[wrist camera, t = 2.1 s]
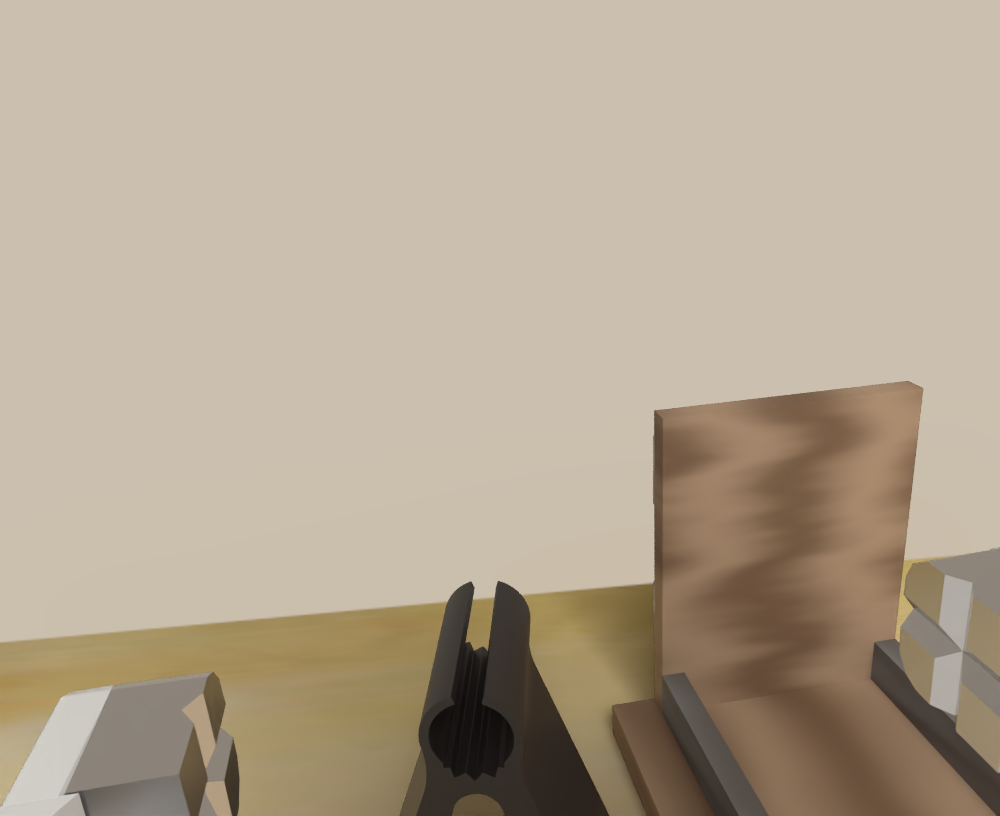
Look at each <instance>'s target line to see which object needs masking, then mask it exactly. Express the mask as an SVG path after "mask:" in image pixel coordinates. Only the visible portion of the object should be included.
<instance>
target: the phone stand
mask: <svg viewBox="0 0 1000 816" xmlns="http://www.w3.org/2000/svg"><path fill="white" fill-rule="evenodd" d="M473 594H474V586H473V584H472V582H469V583H466V584H464V585H463V586H461V587H459V588H458V589H457V590H456V591H455V592H454V593H453V594H452V596H451V597H450V599H449V600H448V603H447V606H446V610H445V614H444V619H443V623H442V628H441V632H440V637H439V641H438V646H437V650H436V655H435V659H434V664H433V668H432V673H431V677H430V682H429V686H428V691H427V695H426V700H425V704H424V709H423V713H422V718H421V722H420V727H419V743H420V746H421V751H420V754H419V757H418V760H417V763H416V767H415V770H414V773H413V776H412V779H411V782H410V785H409V788H408V791H407V794H406V797H405V800H404V803H403V807H402V810H401V813H400V816H452V812H453V808H454V805H455V804H456V802H457V801H458V800H459V799H460V798H462V797H464V796H466V795H470V794H483V795H487V796H489V797H491V798H493V799H495V800H496V801H497V802H498V803H499V804H500V805H501V807H502V809H503V812H504V814H505V816H609V814H608V812H607V810H606V808H605V806H604V804H603V802H602V800H601V798H600V796H599V794H598V792H597V790H596V788H595V786H594V784H593V781H592V779H591V777H590V775H589V773H588V771H587V769H586V767H585V765H584V763H583V761H582V759H581V757H580V755H579V753H578V751H577V749H576V747H575V745H574V743H573V741H572V739H571V737H570V735H569V733H568V731H567V729H566V727H565V725H564V723H563V720H562V718H561V716H560V714H559V712H558V710H557V708H556V706H555V704H554V702H553V700H552V698H551V696H550V694H549V692H548V690H547V688H546V686H545V684H544V682H543V680H542V678H541V676H540V674H539V672H538V670H537V668H536V666H535V663H534V661H533V659H532V656H531V652H530V647H529V635H530V611H529V608H528V605H527V603H526V601H525V599H524V598H523V597H522V595H521V594H520V593H519V592H518V591H517V590H515V589H514V588H513V587H511V586H509V585H508V584H505V583H503V582H500V581H498V583H497V586H496V593H495V600H494V608H493V616H492V624H491V632H490V640H489V648H488V651H487V650H486V649H485V648H484V647H481V648H479V649H477V650H475V651H474V650H473V648H472V645H471V643H470V642H467V643H465V641H466V635H467V629H468V624H469V618H470V612H471V606H472V600H473Z"/></svg>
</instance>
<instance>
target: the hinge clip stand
mask: <svg viewBox="0 0 1000 816" xmlns="http://www.w3.org/2000/svg"><path fill="white" fill-rule="evenodd" d="M922 395H923V388H922V387H920V386H918V385H915V384H913V383H911V382H909V381H904V382H895V383H887V384H878V385H870V386H861V387H852V388H844V389H836V390H827V391H818V392H809V393H802V394H792V395H784V396H775V397H766V398H758V399H749V400H741V401H733V402H724V403H715V404H706V405H698V406H689V407H681V408H672V409H664V410H655V411H654V416H655V417H654V436H653V503H654V507H655V509H654V511H655V512H654V513H655V514H654V515H655V516H654V517H655V580H654V583H653V606H654V644H655V699H649V700H643V701H637V702H630V703H624V704H618V705H612V712H613V734H614V736H615V738H616V741H617V743H618V746H619V748H620V750H621V753H622V755H623V758H624V760H625V762H626V765H627V767H628V770H629V772H630V775H631V777H632V779H633V782H634V784H635V787H636V789H637V791H638V794H639V796H640V799H641V801H642V804H643V806H644V808H645V811H646V813H647V816H1000V773H997V772H996V771H995V770H994V769H993V768H992V767H991V766H990V765H989V764H988V763H987V762H986V761H985V760H984V759H983V758H982V757H981V756H980V755H979V754H978V753H977V752H976V751H975V750H974V749H973V748H972V747H971V746H970V745H969V744H968V743H967V742H966V741H965V740H964V739H963V738H962V737H961V736H960V735H959V734H958V733H957V732H956V726H955V715H953V714H950V713H948V712H946V711H943V710H941V709H939V708H936V707H934V706H932V705H930V704H929V703H928V702H927V701H926V700H925V699H924V698H923V697H922V696H921V695H920V694H919V693H918V692H917V691H916V690H915V688H914V686H913V685H912V683H911V681H910V680H909V678H908V676H907V675H906V672H905V669H904V665H903V662H902V659H901V655H900V652H899V647H900V643H899V642H898V641H897V640H896V639H895V632H896V623H897V615H898V606H899V597H900V588H901V580H902V571H903V562H904V553H905V543H906V535H907V527H908V518H909V509H910V500H911V492H912V483H913V473H914V465H915V456H916V448H917V439H918V430H919V421H920V413H921V404H922Z"/></svg>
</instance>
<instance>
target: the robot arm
mask: <svg viewBox="0 0 1000 816" xmlns="http://www.w3.org/2000/svg"><path fill="white" fill-rule="evenodd" d="M904 596H905V597H906V598H907V600H908V601H909V602H910V604H911V605H912V606H913V608H914V609H913V611H912V612H911V613H910V615H909V616H908V617H907V619H906V620H905V621H904V623H903V624H902V625H901V629H900V647H899V652H900V655H901V659H902V662H903V665H904V669H905V672H906V675H907V676H908V678H909V680H910V681H911V683H912V685H913V686H914V688H915V690H916V691H917V692H918V693H919V694H920V695H921V696H922V697H923V698H924V699H925V700H926V701H927V702H928V703H929V704H930V705H932V706H934V707H936V708H939V709H941V710H943V711H946V712H948V713H950V714H953V715H955V726H956V732H957V733H958V734H959V735H960V736H961V737H962V738H963V739H964V740H965V741H966V742H967V743H968V744H969V745H970V746H971V747H972V748H973V749H974V750H975V751H976V752H977V753H978V754H979V755H980V756H981V757H982V758H983V759H984V760H985V761H986V762H987V763H988V764H989V765H990V766H991V767H992V768H993V769H994V770H995V771H996V772H997V773H1000V547H999V548H994V549H990V550H988V551H982V552H976V553H971V554H965V555H959V556H953V557H948V558H942V559H936V560H931V561H925V562H919V563H913V564H912V566H911V568H910V570H909V571H908V573H907V575H906V580H905V589H904ZM224 708H225V700H224V696H223V692H222V688H221V685H220V681H219V678H218V677H217V676H216V675H215V673H214V672H207V673H199V674H192V675H185V676H177V677H170V678H162V679H155V680H148V681H140V682H133V683H126V684H120V685H118V686H116V685H110V686H104V687H98V688H92V689H85V690H79V691H73V692H70V693H68V694H66V695H64V696H63V697H61V699H60V700H59V701H58V703H57V705H56V707H55V709H54V710H53V712H52V714H51V716H50V718H49V720H48V721H47V723H46V725H45V727H44V729H43V730H42V732H41V734H40V736H39V738H38V740H37V741H36V743H35V745H34V747H33V749H32V751H31V752H30V754H29V756H28V758H27V760H26V762H25V763H24V765H23V767H22V769H21V771H20V773H19V774H18V776H17V778H16V780H15V782H14V784H13V785H12V787H11V789H10V791H9V793H8V795H7V796H6V798H5V800H4V802H3V804H2V806H0V816H237V814H238V808H239V770H238V761H237V754H236V749H235V744H234V740H233V737H232V736H230V735H229V734H228V733H226V732H225V731H224V730H223V729H221V728H220V726H221V721H222V717H223V713H224Z"/></svg>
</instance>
